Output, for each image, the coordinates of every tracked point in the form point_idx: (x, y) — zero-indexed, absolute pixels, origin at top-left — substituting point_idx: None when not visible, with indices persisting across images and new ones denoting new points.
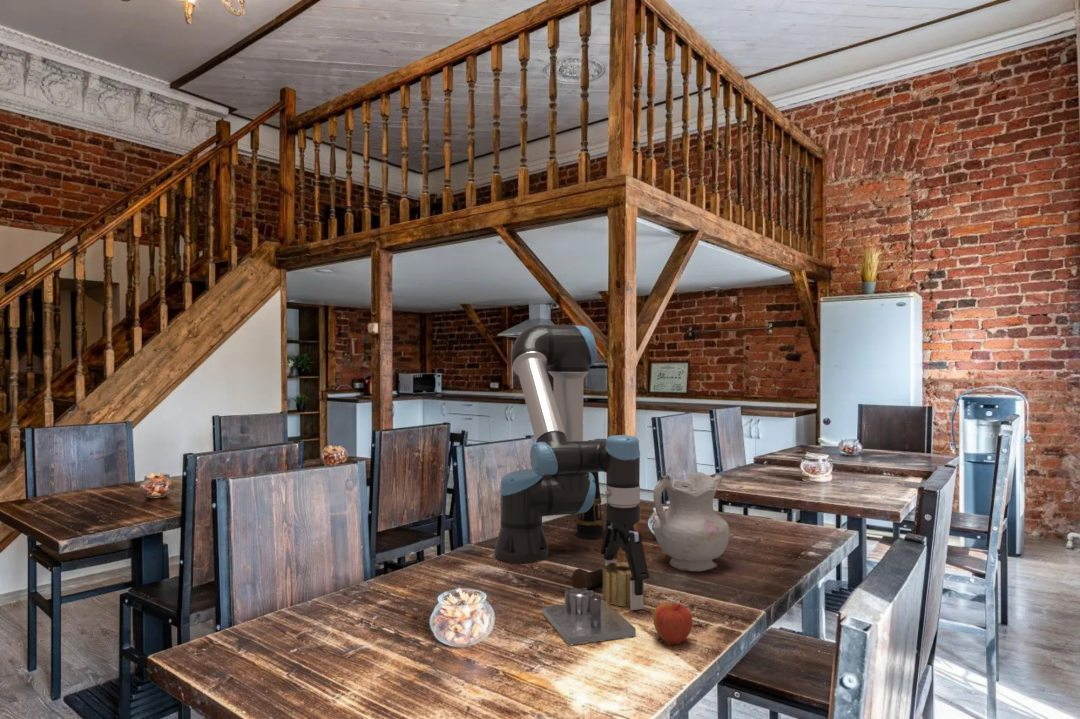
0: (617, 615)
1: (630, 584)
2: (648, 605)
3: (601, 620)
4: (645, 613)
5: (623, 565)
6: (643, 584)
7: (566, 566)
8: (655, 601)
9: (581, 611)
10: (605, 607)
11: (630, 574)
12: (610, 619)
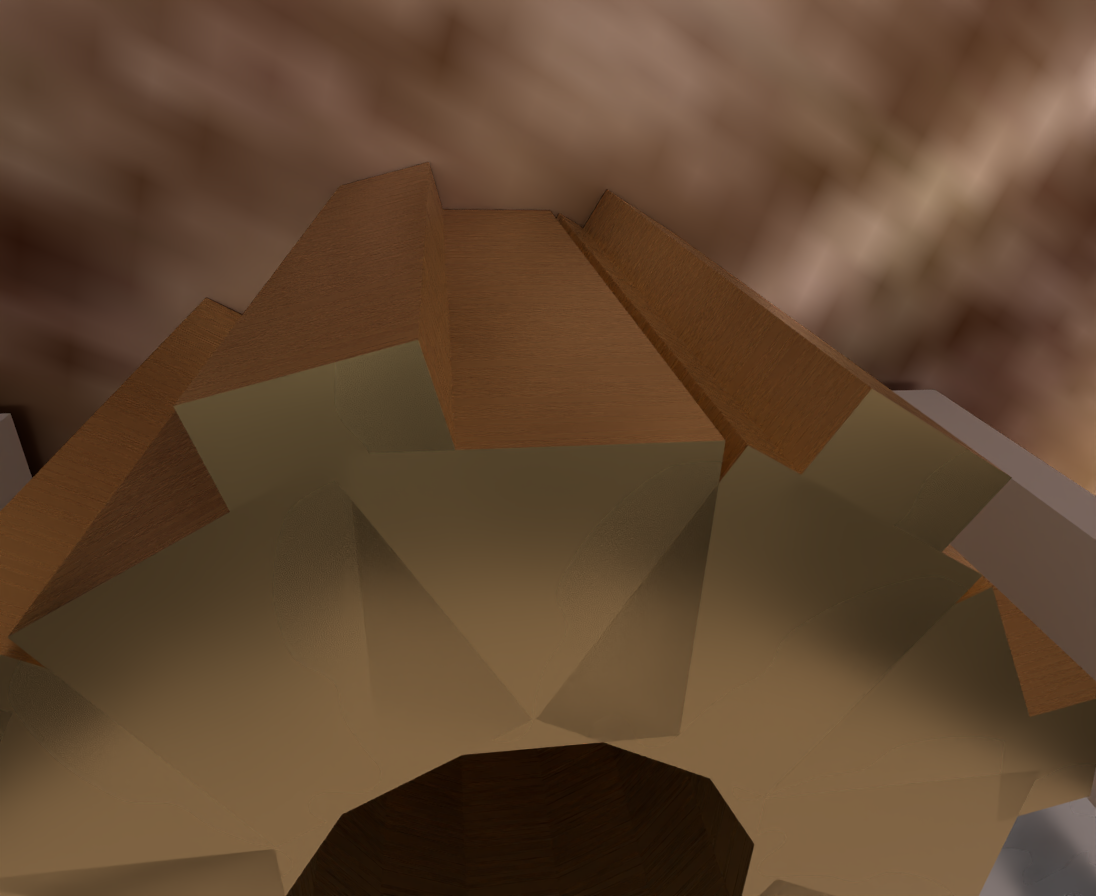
0: None
1: (1093, 795)
2: (813, 223)
3: (1040, 884)
4: (996, 388)
5: (251, 856)
6: (790, 318)
7: None
8: (730, 11)
9: None
10: None
11: (995, 853)
12: (1073, 829)
